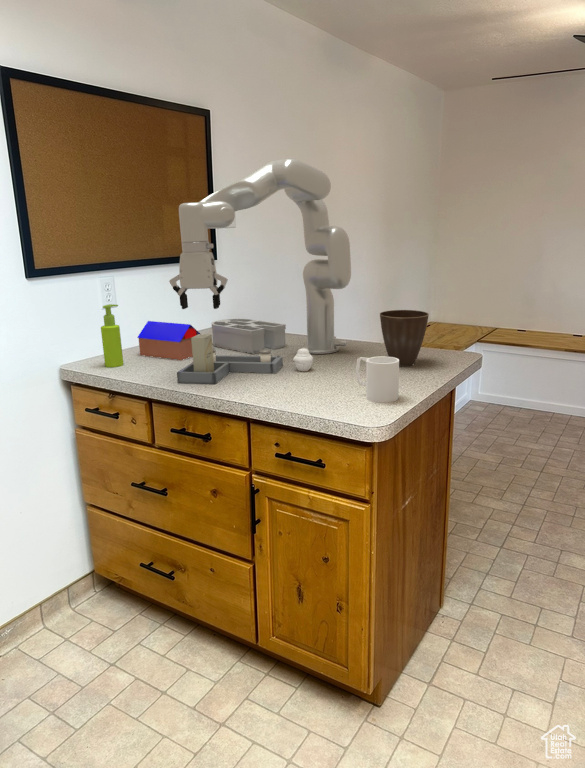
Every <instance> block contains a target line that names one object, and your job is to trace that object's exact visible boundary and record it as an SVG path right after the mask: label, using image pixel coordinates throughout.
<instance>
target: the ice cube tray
mask: <svg viewBox="0 0 585 768" xmlns="http://www.w3.org/2000/svg"><path fill="white" fill-rule="evenodd" d="M286 327H287V325H286V324H285V323H278V322H272V321H264V320H257V319H251V318H250V319H249V318H227V319H218V320H214V321H212V322H211V331H212V344H213V346H214V345H215V346H214V347H216V346H217V347H216V348H219V347H222V348H221V349H224V348H227V349H226V350H229V349H232V350H231V351H234V350H237V351H236V352H239V351H242V352H241V353H244V352H247V353H246V354H249V353H252V354H251V355H256V354H255V353H257V354H260V353H259V352H260V350H263V349H270V348H271V349H272V350H278V349H283V348H285V347H286V345H287V344H286ZM265 347H266V348H265ZM271 349H270V350H271Z"/></svg>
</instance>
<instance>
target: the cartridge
mask: <svg viewBox="0 0 585 768" xmlns="http://www.w3.org/2000/svg"><path fill="white" fill-rule="evenodd" d="M271 353H272V351H271V349H270V348H264V349H263V350H260V353H259V356H260V360H261V362H269V363H271V355H272V354H271Z"/></svg>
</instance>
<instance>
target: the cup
mask: <svg viewBox="0 0 585 768" xmlns="http://www.w3.org/2000/svg"><path fill="white" fill-rule="evenodd" d="M356 359H357V360H356V365H355V376H356V381H357V383H358V385H359V386H363V387H365V388H366V391H365V392H366V396H365V397H366V400H368V401H370V402H374V403H384V404H385V403H386V402H387V403H393V402H396V401H398V400H399V393H400V392H399V388H400V387H399V385H400V383H399V382H400V366H399V359H397V358H394V357H388V356H380V355H379V356H372V357H363V356H360V357H358V358H356ZM361 361H363V362H366V369H365V370H366V373H365V374H366V376H365V377H366V379H365V380H366V381H364V380H363V381H361V376H360V375H361V374H360V366H361V365H360V364H361Z"/></svg>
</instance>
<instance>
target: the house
mask: <svg viewBox="0 0 585 768" xmlns="http://www.w3.org/2000/svg"><path fill="white" fill-rule="evenodd" d="M198 334H201V333H200V332H199V331H198V330H197V329H196V328H195V327H194V326H192V324H189V323H188V324H187V323H186V324H185V323H177V322H175V323H174V322H167V321H166V322H165V321H154V320H152V321H151V320H147V321H146V324H145V325H144V326H143V328H142V329H141V331H140V333H139V334H138V336H137V339H138V346H139V347H138V348H139V355H140V356H142V355H145V357H150V356H153V357H152V358H157V357H161V358H160V359H165V358H170V359H169V360H173V359H177V360H176V361H184V360H183V359H185V360H187V359H186V358H188V357H191V358H193V357H192V356H193V353H192V341H191V338H192V337H194V336H196V335H198ZM188 359H189V358H188Z"/></svg>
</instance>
